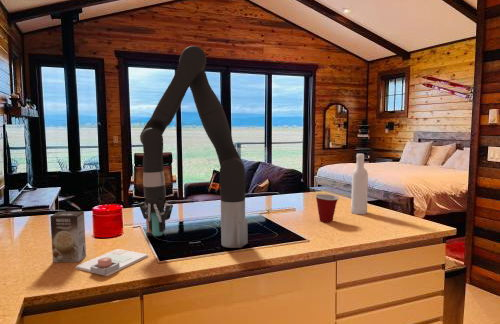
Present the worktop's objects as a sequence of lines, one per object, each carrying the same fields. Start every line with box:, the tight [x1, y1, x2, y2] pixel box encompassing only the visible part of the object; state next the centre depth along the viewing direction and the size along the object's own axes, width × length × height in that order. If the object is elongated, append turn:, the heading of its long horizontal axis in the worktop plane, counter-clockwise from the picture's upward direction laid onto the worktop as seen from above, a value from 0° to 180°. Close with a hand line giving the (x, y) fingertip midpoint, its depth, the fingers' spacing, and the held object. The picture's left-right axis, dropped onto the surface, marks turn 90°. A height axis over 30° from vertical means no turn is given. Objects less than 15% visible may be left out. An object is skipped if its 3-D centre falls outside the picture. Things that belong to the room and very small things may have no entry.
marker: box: [151, 212, 164, 237], centre depth 133 cm, size 4×4×8 cm
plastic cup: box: [314, 193, 339, 223], centre depth 172 cm, size 11×11×12 cm
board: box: [74, 248, 148, 277], centre depth 123 cm, size 14×19×2 cm
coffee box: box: [49, 211, 87, 263], centre depth 126 cm, size 9×6×16 cm
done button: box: [98, 257, 112, 269], centre depth 115 cm, size 4×4×2 cm
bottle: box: [350, 153, 369, 215], centre depth 186 cm, size 8×8×30 cm
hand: (157, 230), depth 133 cm, fingers closed on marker, 3 cm apart
